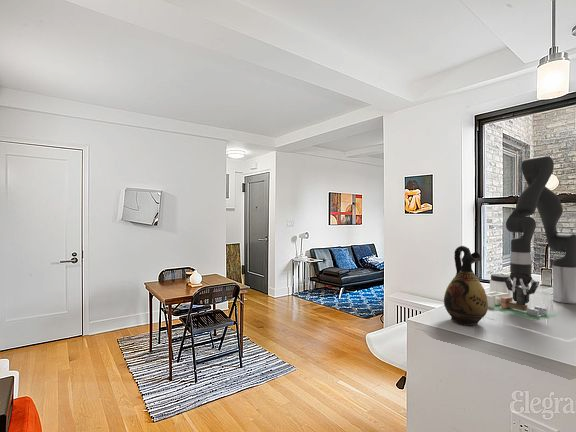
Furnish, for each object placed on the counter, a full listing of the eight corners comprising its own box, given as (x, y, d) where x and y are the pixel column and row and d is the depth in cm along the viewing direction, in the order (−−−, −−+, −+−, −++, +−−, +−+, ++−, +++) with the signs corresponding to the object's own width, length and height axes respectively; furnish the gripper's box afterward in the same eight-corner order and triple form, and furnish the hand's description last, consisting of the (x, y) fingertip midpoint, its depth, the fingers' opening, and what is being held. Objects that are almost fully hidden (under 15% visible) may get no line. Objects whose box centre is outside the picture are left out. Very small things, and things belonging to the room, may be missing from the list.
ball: (498, 294, 151) (504, 302, 149) (492, 298, 154) (498, 306, 152) (493, 295, 150) (498, 303, 147) (486, 299, 153) (492, 307, 150)
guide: (536, 313, 138) (536, 306, 138) (546, 315, 135) (546, 308, 135) (526, 315, 136) (526, 308, 136) (537, 317, 132) (537, 310, 132)
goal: (495, 301, 157) (495, 290, 157) (509, 305, 151) (509, 293, 151) (479, 304, 152) (479, 292, 152) (493, 308, 146) (493, 295, 146)
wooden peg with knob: (507, 306, 148) (507, 284, 148) (529, 311, 140) (529, 288, 140) (500, 307, 146) (500, 285, 146) (522, 312, 138) (522, 289, 138)
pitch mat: (497, 302, 158) (497, 300, 158) (557, 316, 135) (557, 315, 135) (475, 305, 151) (475, 304, 151) (534, 321, 129) (534, 320, 129)
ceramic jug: (498, 327, 122) (498, 248, 122) (461, 330, 120) (461, 249, 120) (466, 314, 139) (466, 244, 139) (433, 316, 136) (433, 244, 136)
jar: (505, 302, 158) (505, 277, 158) (487, 298, 165) (487, 275, 165) (513, 299, 163) (513, 275, 163) (495, 296, 170) (495, 273, 170)
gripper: (544, 264, 136) (544, 305, 136) (509, 259, 149) (509, 297, 149) (533, 265, 133) (533, 307, 133) (498, 260, 146) (498, 299, 146)
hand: (520, 301), depth 141 cm, fingers closed on wooden peg with knob, 3 cm apart
